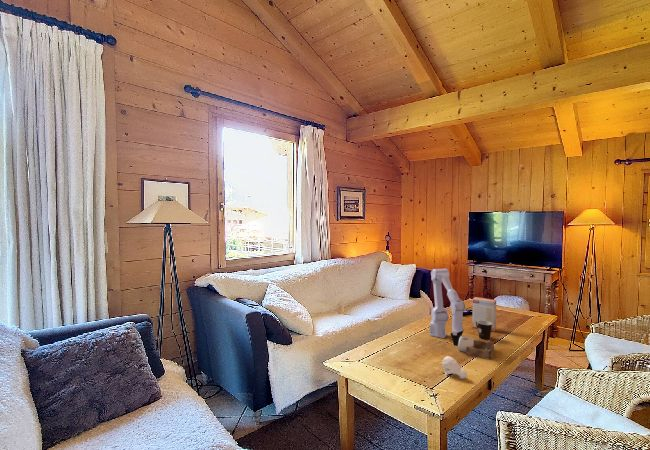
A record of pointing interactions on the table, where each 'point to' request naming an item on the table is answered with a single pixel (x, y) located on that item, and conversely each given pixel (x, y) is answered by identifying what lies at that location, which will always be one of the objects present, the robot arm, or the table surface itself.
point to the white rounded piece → (453, 367)
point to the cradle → (480, 352)
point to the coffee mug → (484, 329)
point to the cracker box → (484, 311)
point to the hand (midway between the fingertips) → (457, 343)
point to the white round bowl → (465, 343)
